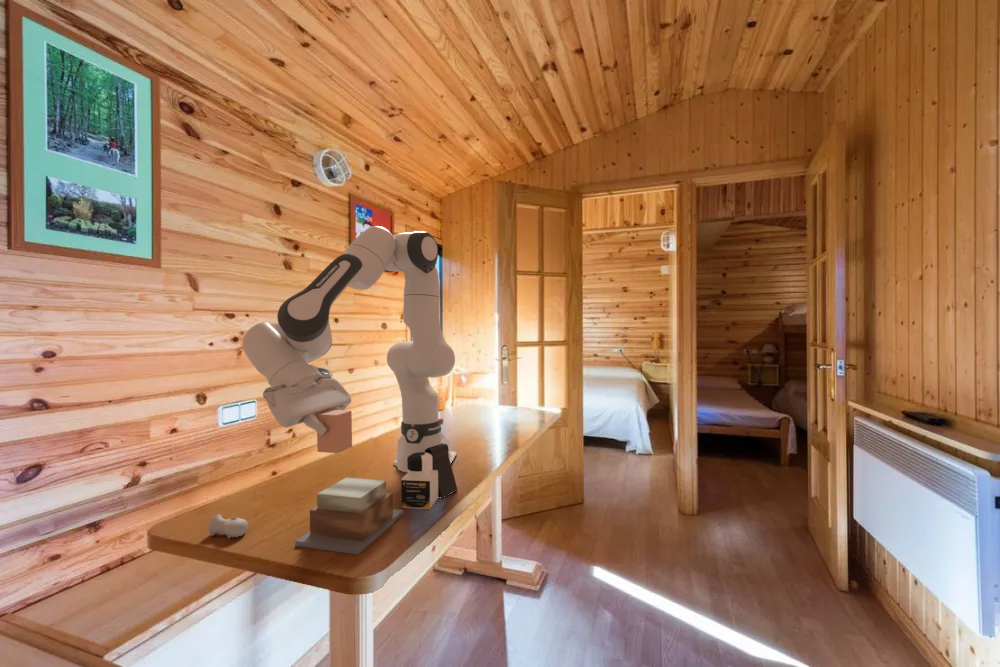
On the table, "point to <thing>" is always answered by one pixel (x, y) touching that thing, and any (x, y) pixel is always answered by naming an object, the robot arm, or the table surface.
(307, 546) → the base plate
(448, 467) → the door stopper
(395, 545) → the table surface
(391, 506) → the brick tower
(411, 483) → the medicine bottle
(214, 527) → the smooth white sculpture
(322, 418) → the terracotta brick
